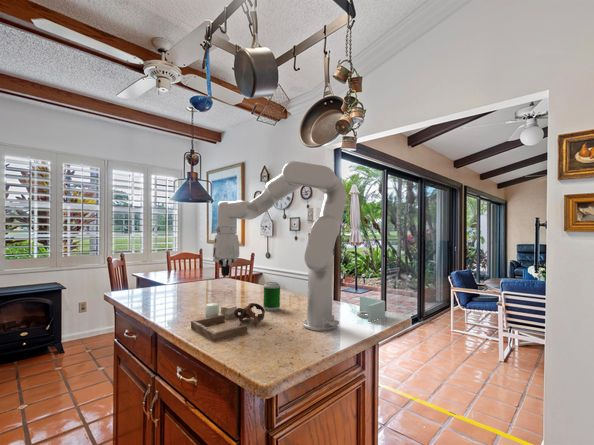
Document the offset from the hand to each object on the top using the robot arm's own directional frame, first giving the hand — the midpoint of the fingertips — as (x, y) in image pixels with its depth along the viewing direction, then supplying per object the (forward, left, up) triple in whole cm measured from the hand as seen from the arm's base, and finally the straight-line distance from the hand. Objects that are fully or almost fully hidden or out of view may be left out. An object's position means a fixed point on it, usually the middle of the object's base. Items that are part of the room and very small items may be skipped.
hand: (225, 275), depth 126 cm
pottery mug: (-11, -5, -18) cm, 21 cm away
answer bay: (-12, +9, -17) cm, 23 cm away
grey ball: (-2, -10, -17) cm, 20 cm away
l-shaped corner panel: (-36, -47, -18) cm, 62 cm away
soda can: (-2, -23, -18) cm, 29 cm away
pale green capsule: (+1, +5, -17) cm, 18 cm away
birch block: (0, -2, -18) cm, 18 cm away
